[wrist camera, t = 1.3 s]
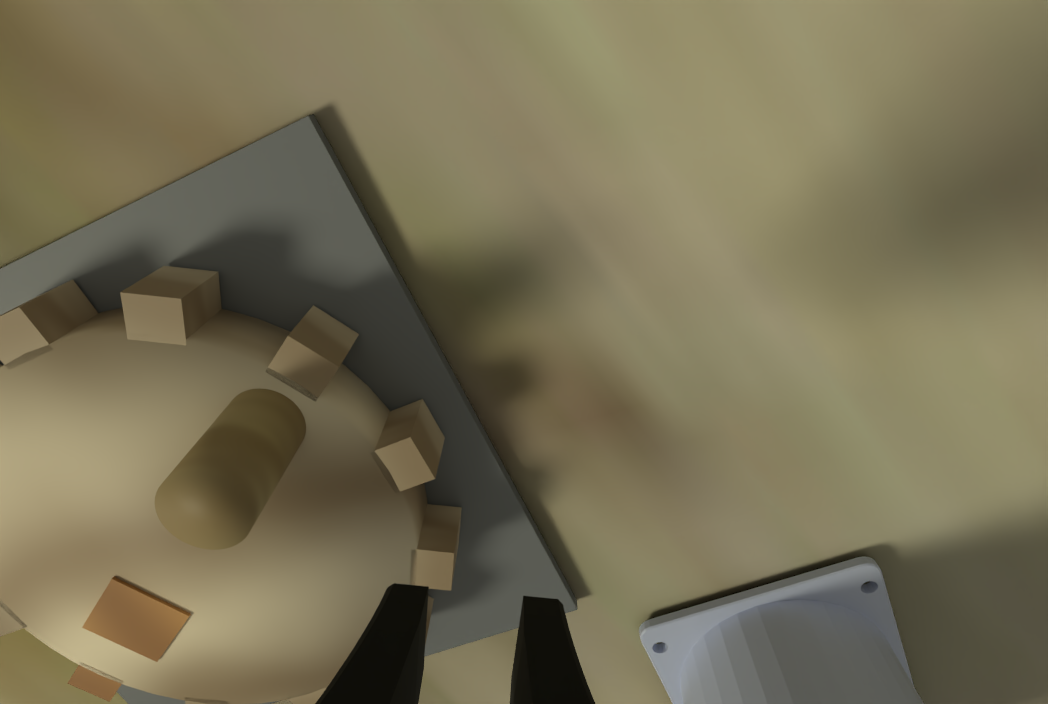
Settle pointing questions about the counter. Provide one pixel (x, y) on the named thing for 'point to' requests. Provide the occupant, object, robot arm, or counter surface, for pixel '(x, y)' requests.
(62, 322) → the sprocket
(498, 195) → the counter surface
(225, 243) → the index plate
